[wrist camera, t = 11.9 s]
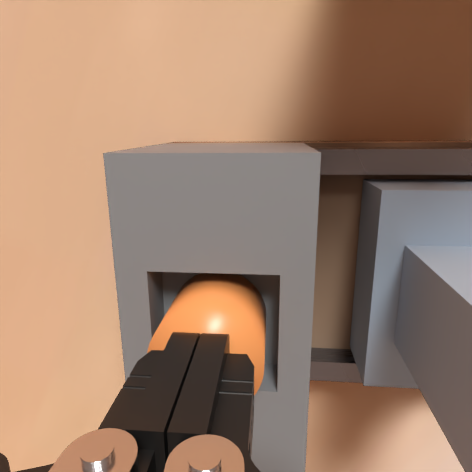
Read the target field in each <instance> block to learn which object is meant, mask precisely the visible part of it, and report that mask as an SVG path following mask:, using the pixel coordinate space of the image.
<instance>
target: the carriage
mask: <svg viewBox="0 0 472 472" xmlns="http://www.w3.org/2000/svg"><path fill="white" fill-rule="evenodd" d="M350 348H351V351H352V354H353V357H354V360H355V363H356V365H357V368H358V371H359V374H360V377H361V380H362V383H363V386H378V387H397V388H416V389H420V391H421V393H422V395H423V397H424V398H425V400H426V402H427V404H428V406H429V407H430V409H431V411H432V413H433V415H434V417H435V418H436V420H437V422H438V424H439V426H440V427H441V429H442V431H443V433H444V435H445V436H446V438H447V440H448V442H449V444H450V445H451V447H452V449H453V451H454V453H455V454H456V456H457V458H458V460H459V462H460V464H461V465H462V467H463V469H464V471H465V472H472V180H453V179H363V188H362V200H361V212H360V225H359V237H358V250H357V262H356V274H355V287H354V299H353V312H352V324H351V336H350Z"/></svg>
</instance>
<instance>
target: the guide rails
mask: <svg viewBox="0 0 472 472" xmlns="http://www.w3.org/2000/svg"><path fill="white" fill-rule="evenodd" d="M313 149H315V150H317V151H319V152H321V166H320V175H472V147H380V148H313ZM310 380H317V381H337V382H356V383H362V380H361V377H360V374H359V371H358V368H357V365H356V363H355V360H354V357H353V354H352V351H351V349H334V348H312V347H311V364H310Z"/></svg>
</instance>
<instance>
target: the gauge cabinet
mask: <svg viewBox="0 0 472 472" xmlns="http://www.w3.org/2000/svg"><path fill="white" fill-rule="evenodd" d="M103 155H104V165H105V176H106V186H107V196H108V206H109V217H110V227H111V237H112V247H113V257H114V268H115V278H116V288H117V298H118V308H119V319H120V329H121V339H122V349H123V359H124V370H125V380H127V378H128V377H130V373H131V371H132V370H133V368H134V366H135V364H136V363H137V361H138V360H139V359H141V358H142V357H143V356H145V355H146V354H147V351H148V347H149V344H150V341H151V339H152V337H153V335H154V333H155V332H156V330H157V328H158V327H159V325H160V323H161V321H162V320H163V318H164V316H165V314H166V313H167V311H168V309H169V308H170V306H171V304H172V302H173V301H174V299H175V297H176V295H177V294H178V292H179V290H180V289H181V287H182V286H183V285H184V284H185V283H186V282H187V281H188V280H189V279H191V278H192V277H194V276H195V275H198V274H200V273H222V274H238V275H240V276H242V277H244V278H245V279H247V280H248V281H249V282H251V283H252V284H253V285H254V286H255V287H256V288H257V290H258V291H259V293H260V294H261V296H262V298H263V300H264V303H265V307H266V338H265V363H264V376H263V380H262V383H261V385H260V388H259V389H258V391H257V393H256V394H255V395H254V423H253V438H252V453H251V459H252V461H253V463H254V465H255V466H256V467H257V468H258V469H259V471H260V472H305V463H306V443H307V423H308V403H309V383H310V364H311V344H312V324H313V304H314V284H315V265H316V245H317V225H318V205H319V185H320V166H321V152H319V151H317V150H315V149H313V148H312V147H310V146H308V145H306V144H304V143H165V144H159V145H152V146H146V147H140V148H133V149H127V150H120V151H114V152H108V153H103Z"/></svg>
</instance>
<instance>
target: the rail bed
mask: <svg viewBox="0 0 472 472" xmlns="http://www.w3.org/2000/svg"><path fill="white" fill-rule="evenodd" d="M172 143H304V144H306V145H308V146H310V147H312V148H380V147H472V141H325V142H172ZM363 179H453V180H472V175H320V185H319V205H318V225H317V245H316V265H315V284H314V304H313V324H312V344H311V347H312V348H334V349H351V348H350V336H351V324H352V312H353V299H354V287H355V274H356V262H357V250H358V237H359V225H360V212H361V200H362V188H363Z"/></svg>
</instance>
